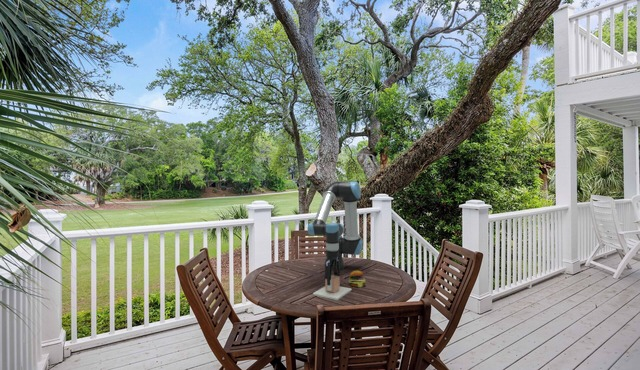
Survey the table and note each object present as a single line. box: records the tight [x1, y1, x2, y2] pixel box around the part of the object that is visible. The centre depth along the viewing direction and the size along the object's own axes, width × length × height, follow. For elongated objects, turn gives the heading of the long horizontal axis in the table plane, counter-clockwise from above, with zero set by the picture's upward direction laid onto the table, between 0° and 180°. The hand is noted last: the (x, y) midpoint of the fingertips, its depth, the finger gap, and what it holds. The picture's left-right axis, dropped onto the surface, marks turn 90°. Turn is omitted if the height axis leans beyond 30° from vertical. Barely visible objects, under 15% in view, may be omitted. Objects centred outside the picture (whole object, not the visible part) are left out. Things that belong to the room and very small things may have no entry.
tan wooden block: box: [324, 274, 341, 293], centre depth 201 cm, size 6×6×8 cm
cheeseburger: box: [348, 270, 366, 288], centre depth 214 cm, size 10×11×10 cm
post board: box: [312, 285, 352, 301], centre depth 201 cm, size 18×16×7 cm
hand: (332, 288), depth 201 cm, fingers open, 7 cm apart
